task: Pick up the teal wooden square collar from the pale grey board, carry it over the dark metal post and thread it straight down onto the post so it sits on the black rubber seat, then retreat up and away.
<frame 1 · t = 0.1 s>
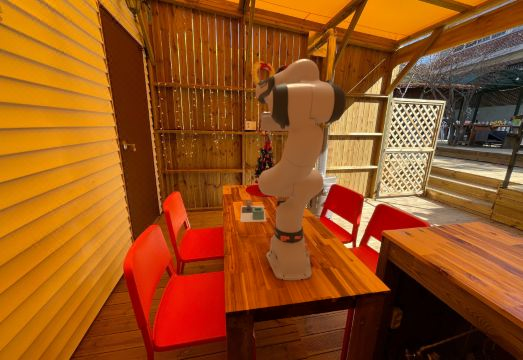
hand: (279, 139, 110), 48 cm above the table, tool pointing down, fingers open, 8 cm apart
ammunition clip: (284, 207, 147), on the table
collar: (258, 217, 128), point 1 cm above the table, touching post board
post board: (252, 215, 134), on the table
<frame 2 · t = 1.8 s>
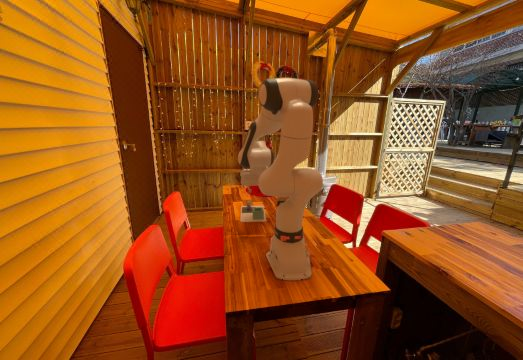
hand: (258, 192, 124), 17 cm above the table, tool pointing down, fingers open, 8 cm apart
nothing on the table moved.
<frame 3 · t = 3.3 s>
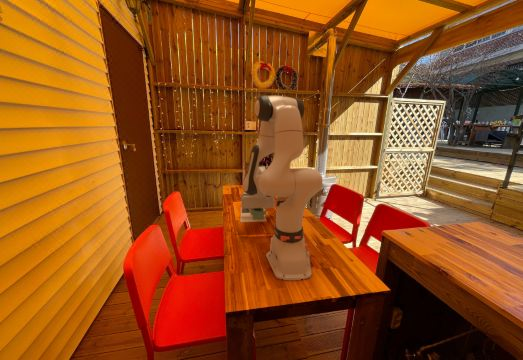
hand: (258, 214, 127), 3 cm above the table, tool pointing down, fingers closed on collar, 6 cm apart
collar: (258, 217, 128), point 1 cm above the table, touching gripper, post board
everything else where it was.
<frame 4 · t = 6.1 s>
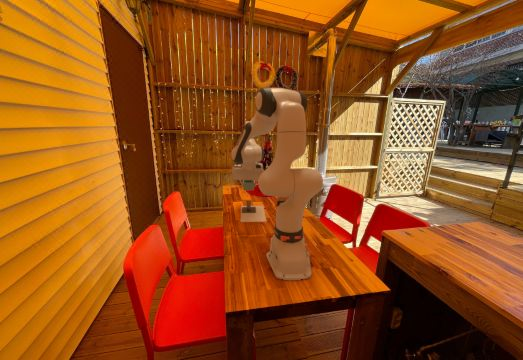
hand: (248, 186, 134), 18 cm above the table, tool pointing down, fingers closed on collar, 6 cm apart
collar: (248, 188, 134), point 16 cm above the table, touching gripper
everything else where it was.
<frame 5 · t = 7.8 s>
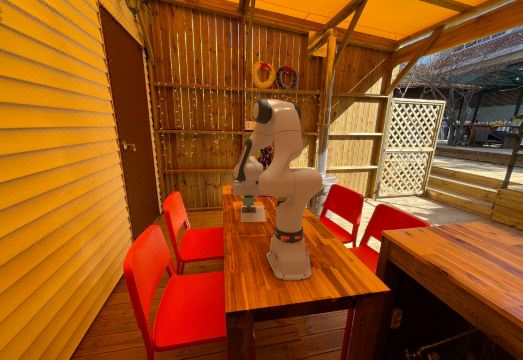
hand: (248, 201, 136), 7 cm above the table, tool pointing down, fingers closed on collar, 6 cm apart
collar: (248, 203, 137), point 6 cm above the table, touching gripper
everything else where it was.
when the fingers open (4 cm above the table, at t = 9.0 s): collar stays where it is, resting on post board.
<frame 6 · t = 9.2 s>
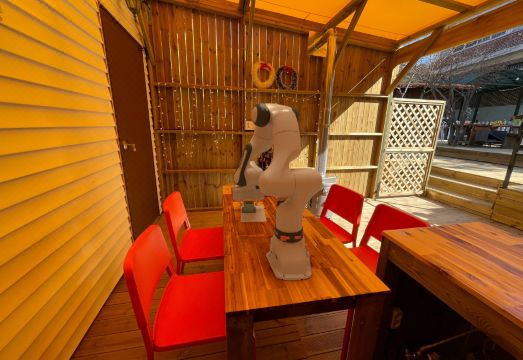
hand: (248, 205, 137), 4 cm above the table, tool pointing down, fingers open, 8 cm apart
collar: (248, 209, 138), point 2 cm above the table, touching post board
everything else where it was.
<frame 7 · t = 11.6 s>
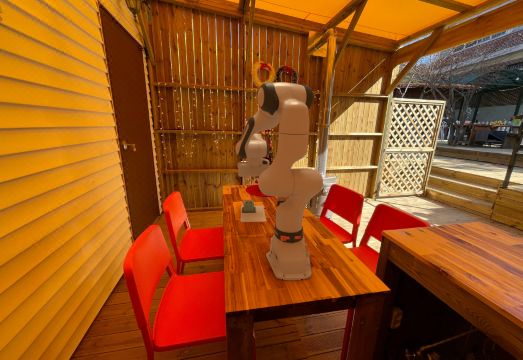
hand: (254, 183, 130), 20 cm above the table, tool pointing down, fingers open, 8 cm apart
nothing on the table moved.
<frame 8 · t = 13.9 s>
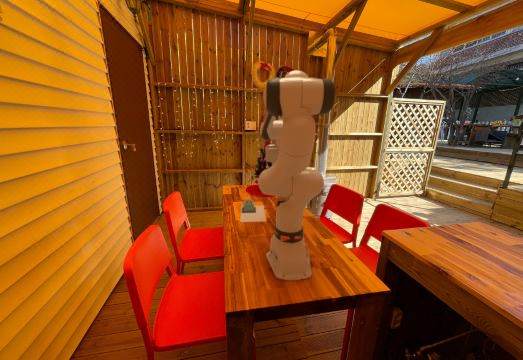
hand: (283, 169, 119), 31 cm above the table, tool pointing down, fingers open, 8 cm apart
nothing on the table moved.
at the end: collar 0.1 cm from the target spot on the post board, point 1.8 cm above the post board's base; collar tilted 0°; the gripper is holding nothing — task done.
